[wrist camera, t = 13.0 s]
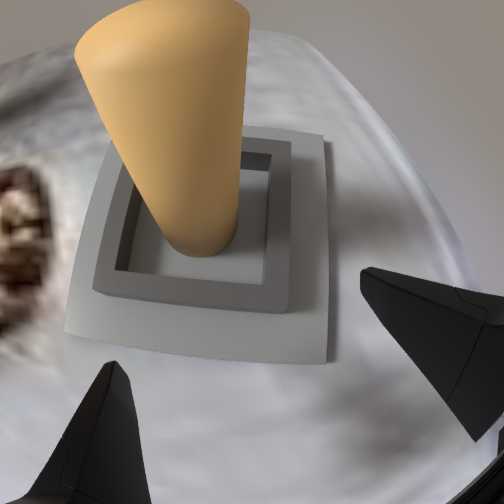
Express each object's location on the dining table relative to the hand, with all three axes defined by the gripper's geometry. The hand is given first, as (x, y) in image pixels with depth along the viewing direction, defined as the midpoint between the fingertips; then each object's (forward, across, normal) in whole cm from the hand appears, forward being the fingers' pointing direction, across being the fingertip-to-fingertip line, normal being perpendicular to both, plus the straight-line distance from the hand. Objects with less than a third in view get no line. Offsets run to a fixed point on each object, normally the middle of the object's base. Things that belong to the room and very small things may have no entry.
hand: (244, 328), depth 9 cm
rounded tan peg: (+10, 0, 0) cm, 10 cm away
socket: (+10, 0, 0) cm, 11 cm away
